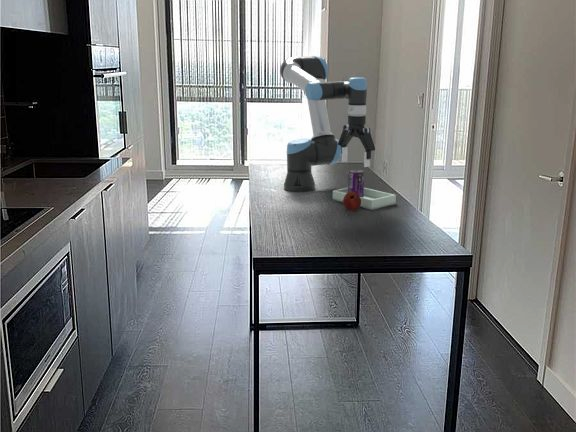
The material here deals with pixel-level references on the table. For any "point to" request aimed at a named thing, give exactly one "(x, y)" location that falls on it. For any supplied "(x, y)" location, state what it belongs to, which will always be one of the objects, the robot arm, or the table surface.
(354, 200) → the apple
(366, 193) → the tote
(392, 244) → the table surface
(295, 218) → the table surface
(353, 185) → the beverage can
